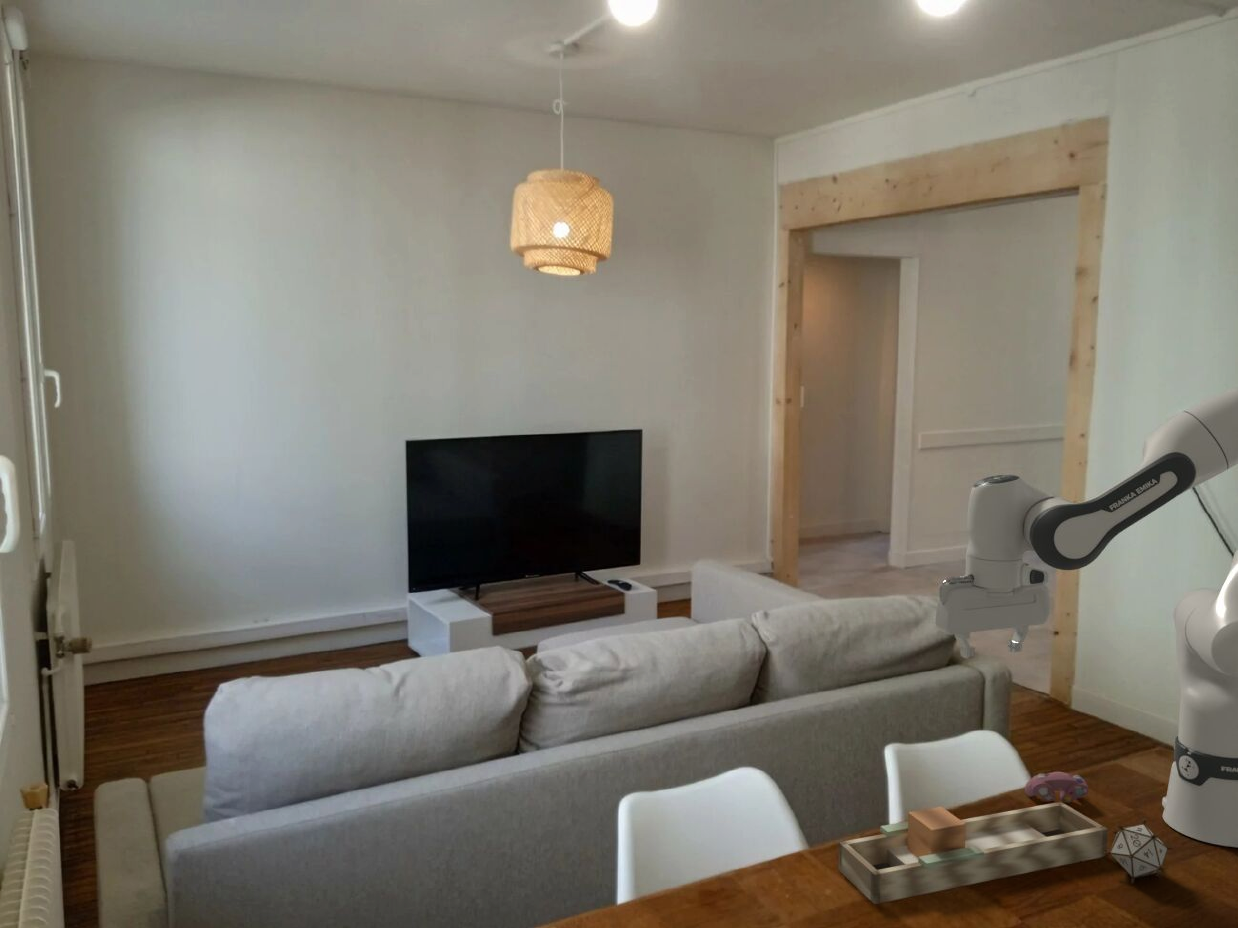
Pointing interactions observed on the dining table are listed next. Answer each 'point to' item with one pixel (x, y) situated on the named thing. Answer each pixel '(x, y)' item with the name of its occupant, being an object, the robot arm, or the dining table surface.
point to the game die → (1138, 850)
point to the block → (934, 832)
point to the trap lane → (972, 852)
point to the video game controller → (1057, 786)
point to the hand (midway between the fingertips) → (991, 654)
